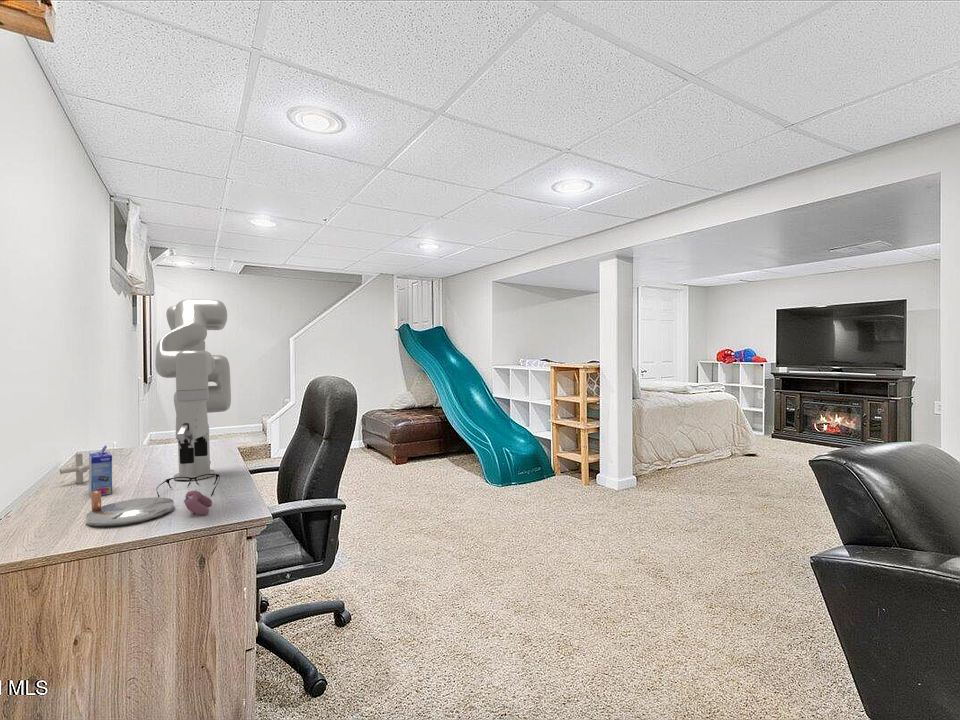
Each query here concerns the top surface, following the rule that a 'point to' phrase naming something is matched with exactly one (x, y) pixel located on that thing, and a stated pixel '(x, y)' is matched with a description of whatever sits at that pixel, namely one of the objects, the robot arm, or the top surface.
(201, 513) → the video game controller
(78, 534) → the top surface
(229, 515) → the top surface
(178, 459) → the robot arm
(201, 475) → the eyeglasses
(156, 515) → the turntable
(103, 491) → the ink cartridge box
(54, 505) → the top surface
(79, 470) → the pipe connector
